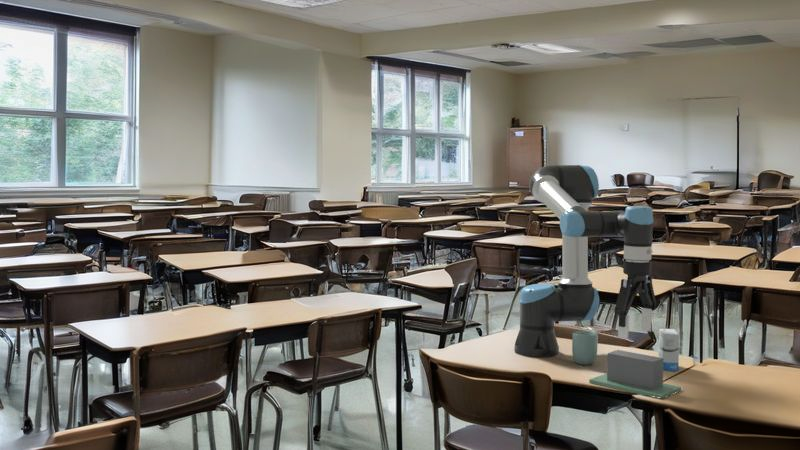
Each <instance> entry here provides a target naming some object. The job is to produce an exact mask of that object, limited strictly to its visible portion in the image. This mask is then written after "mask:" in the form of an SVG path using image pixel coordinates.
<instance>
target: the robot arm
mask: <svg viewBox="0 0 800 450" xmlns="http://www.w3.org/2000/svg"><path fill="white" fill-rule="evenodd" d="M528 187H529V192H530V194H531V195H532V197H533V198H534V199H535V200H536V201H537V202H540V203H541V204H542V203H543V204H544V205H545V206H546V207H547V208H548V209H549V210H550V211H551V212H552V213H553V214H554V215H555V216H556V217H557V218H558V219H559V227H560V231H561V236H562V239H561V240H562V241H561V243H562V244H561V245H562V250H561V251H562V253H561V255H562V257H561V259H562V260H561V261H562V271H561V272H562V277H561V279H560V280H558V282H557V287H556V286H555V285H554V283H553V284H552V283H549V282H548V283H547V282H546V283H535V284H530V285H526V286H523V287H522V289H521V291H520V296H519V331H518V334H517V337H516V339H515V343H514V352H515V353H516V354H518V353H519V354H518V355H521V354H522V355H523V356H527V357H535V358H541V357H543V358H544V357H545V358H546V357H547V358H548V357H554V356H558V355H559V354H560V348H559V347H560V346H559V343H558V339H557V337H556V333H555V322H557V323H558V322H579V323H581V322H585V321H590V320H591V321H592V320H593V318H595V316H596V315H597V313H598V310H599V305H600V296H599V291H598V290H597V288H596V287H594V286H593V282H592V281H591V280H590V279H589V274H588V273H589V269H588V268H589V265H588V263H589V262H588V261H589V260H588V259H589V257H588V256H589V251H588V249H589V246H588V245H589V243H588V241H589V240H588V239H589V238H592V237H593V238H594V237H595V238H596V237H600V238H601V237H603V238H604V237H606V238H607V237H608V238H610V237H612V238H613V237H614V238H615V237H617V238H618V237H619V238H620V237H622V238H624V239H623V240H624V242H623V259H624V261H623V265H622V269H623V270H622V271H623V274H625V275H626V276H627V278H626V279H624V278H622V279H621V281H620V288H619V291H618V295H617V299H616V303H615V307H614V310H613V312H614V314H615V315H618V327H617V328H618V331H617V338H618V339H619V338H621V339H626V340H628V339H629V333H630V332H629V331H630V330H629V328H630V315H629V311H630V309H631V306H632V304H633V301H634V299H635V297H637V296H638V297H639V298H640V301H641V303H642V306H643V307H641V319H640V320H641V322H640V323H641V326H640V327H641V328H640V330H641V331H646V332H652V320H653V319H652V315H653V313H652V311H653V310H652V309H654V310H655V309H656V307H657V306H656V305H657V300H656V296H655V295H656V294H655V290H654V286H653V276H652V275H651V274H652V262H651V260H652V254H653V253H654V252H653V248H652V247H653V231H654V230H653V229H654V214H653V213H654V212H653V211H654V210H653V208H652V207H650V206H643V205H642V206H641V205H631V206H627V207H626V208H625V211H624V210H612V211H611V210H610V211H609V210H608V211H607V210H606V211H605V210H604V211H602V210H601V211H599V210H595V211H593V210H591V211H589V208H590V207H591V206H592V204H593V200H595V199H596V198H597V196H599V192H600V191H599V190H600V183H599V179H598V176H597V173H596V172H595V170H594V169H593V168H592V167H591V166H589V165H581V164H576V165H575V164H573V165H572V164H570V165H569V164H568V165H567V164H566V165H565V164H564V165H563V164H562V165H557V164H550V165H545V166H541V167H539V168H538V169H537V170H535V172H534V173H532V175H531V177H530V179H529V184H528Z"/></svg>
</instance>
